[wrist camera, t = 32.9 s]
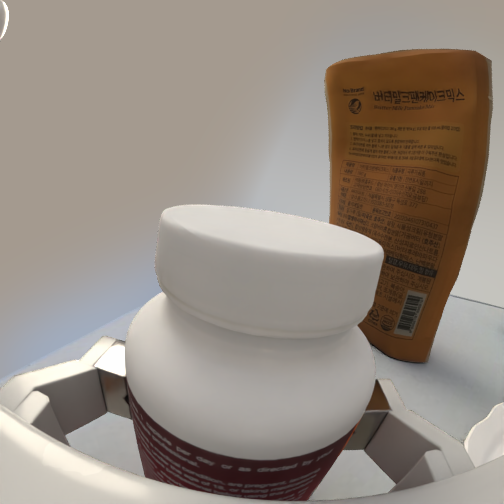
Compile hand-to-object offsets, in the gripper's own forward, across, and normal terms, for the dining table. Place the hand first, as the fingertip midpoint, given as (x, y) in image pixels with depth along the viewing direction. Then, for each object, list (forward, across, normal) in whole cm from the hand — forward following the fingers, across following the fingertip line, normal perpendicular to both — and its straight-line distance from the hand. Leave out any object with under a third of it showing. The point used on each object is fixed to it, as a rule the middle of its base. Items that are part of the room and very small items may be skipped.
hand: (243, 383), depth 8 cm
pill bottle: (-1, 0, +6) cm, 6 cm away
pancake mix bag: (+18, -12, +7) cm, 22 cm away
